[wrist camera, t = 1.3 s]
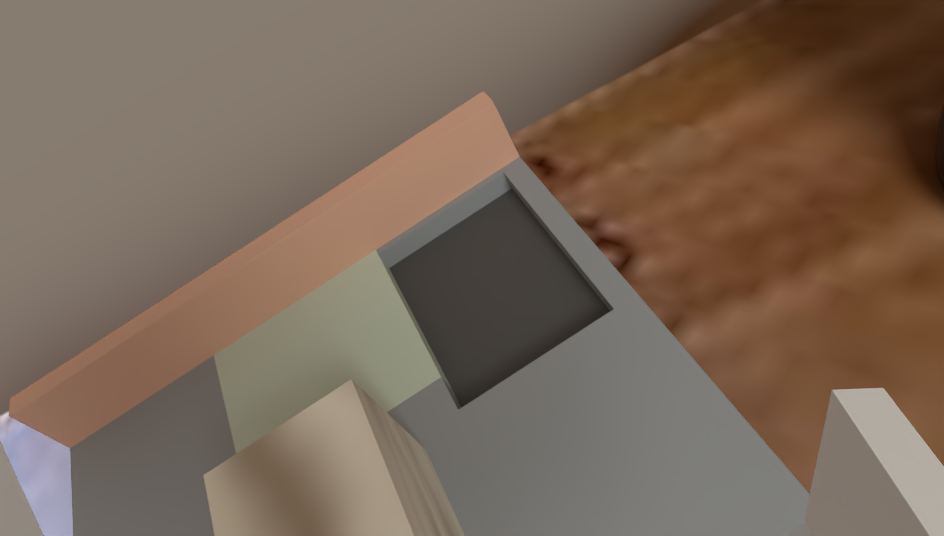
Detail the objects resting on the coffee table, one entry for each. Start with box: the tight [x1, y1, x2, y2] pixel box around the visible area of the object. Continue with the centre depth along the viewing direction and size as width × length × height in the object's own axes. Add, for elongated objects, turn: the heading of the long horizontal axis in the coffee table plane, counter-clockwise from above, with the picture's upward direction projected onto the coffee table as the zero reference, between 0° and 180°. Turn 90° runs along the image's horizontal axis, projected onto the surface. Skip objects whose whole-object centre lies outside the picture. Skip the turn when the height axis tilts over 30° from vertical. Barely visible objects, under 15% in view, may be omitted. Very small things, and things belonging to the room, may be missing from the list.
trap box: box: [9, 91, 811, 536], centre depth 40 cm, size 36×30×7 cm
